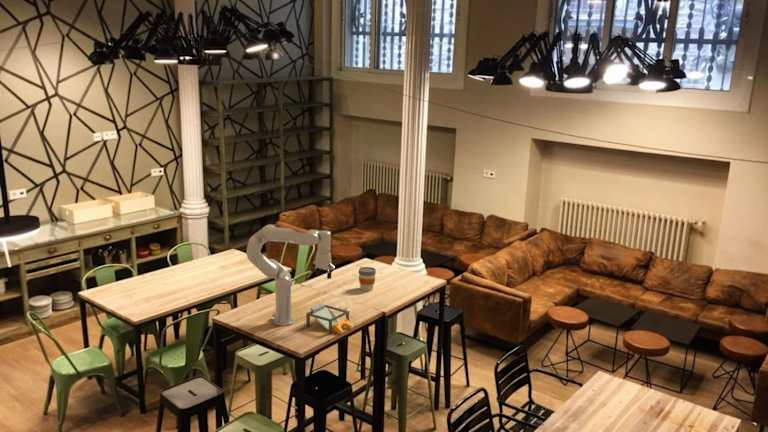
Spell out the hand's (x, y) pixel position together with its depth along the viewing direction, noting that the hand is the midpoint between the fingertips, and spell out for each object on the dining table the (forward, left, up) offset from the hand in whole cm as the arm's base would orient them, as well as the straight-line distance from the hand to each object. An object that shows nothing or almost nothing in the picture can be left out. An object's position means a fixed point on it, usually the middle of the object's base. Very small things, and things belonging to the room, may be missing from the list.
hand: (323, 276), depth 427 cm
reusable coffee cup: (-13, +68, -30) cm, 75 cm away
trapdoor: (+5, -4, -24) cm, 25 cm away
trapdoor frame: (+7, -4, -30) cm, 31 cm away
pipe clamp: (+15, -4, -26) cm, 30 cm away
